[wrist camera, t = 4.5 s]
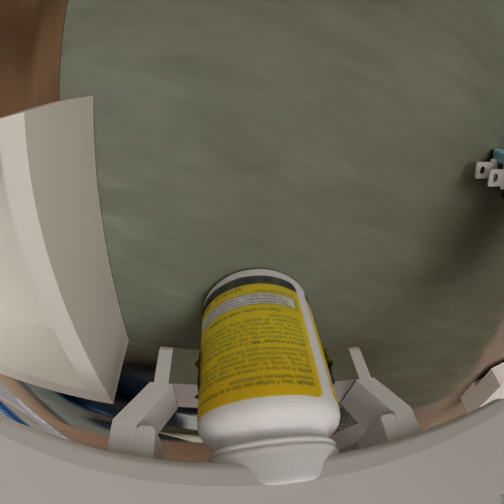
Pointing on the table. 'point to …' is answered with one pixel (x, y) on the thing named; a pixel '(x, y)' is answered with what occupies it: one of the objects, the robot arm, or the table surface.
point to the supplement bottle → (265, 379)
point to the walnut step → (30, 53)
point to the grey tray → (56, 256)
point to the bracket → (485, 389)
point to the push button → (493, 170)
